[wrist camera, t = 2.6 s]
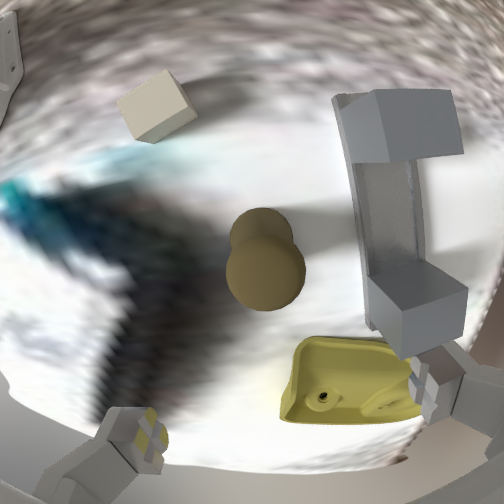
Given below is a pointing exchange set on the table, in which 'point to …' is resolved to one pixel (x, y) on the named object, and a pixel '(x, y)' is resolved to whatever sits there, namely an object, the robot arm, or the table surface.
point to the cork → (264, 261)
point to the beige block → (156, 108)
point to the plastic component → (347, 384)
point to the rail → (383, 210)
